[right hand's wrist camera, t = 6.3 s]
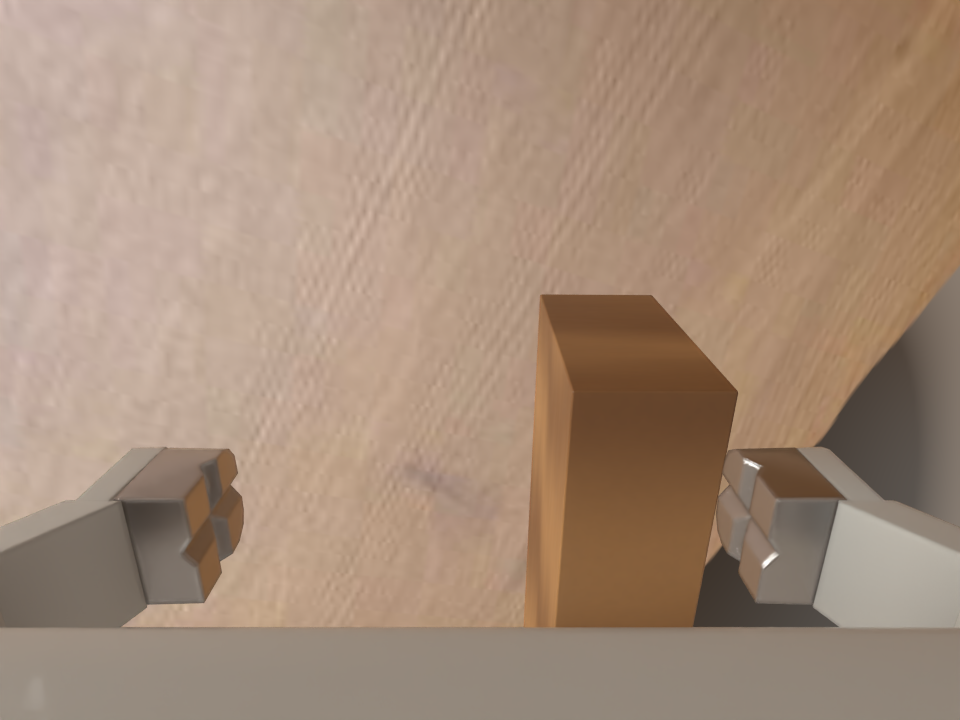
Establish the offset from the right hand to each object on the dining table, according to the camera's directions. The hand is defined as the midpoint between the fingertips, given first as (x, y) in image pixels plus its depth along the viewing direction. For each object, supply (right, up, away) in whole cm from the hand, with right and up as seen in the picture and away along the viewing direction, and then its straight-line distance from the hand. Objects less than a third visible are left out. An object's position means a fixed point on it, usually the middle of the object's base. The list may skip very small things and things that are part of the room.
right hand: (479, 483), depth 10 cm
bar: (+4, -6, +19) cm, 20 cm away
